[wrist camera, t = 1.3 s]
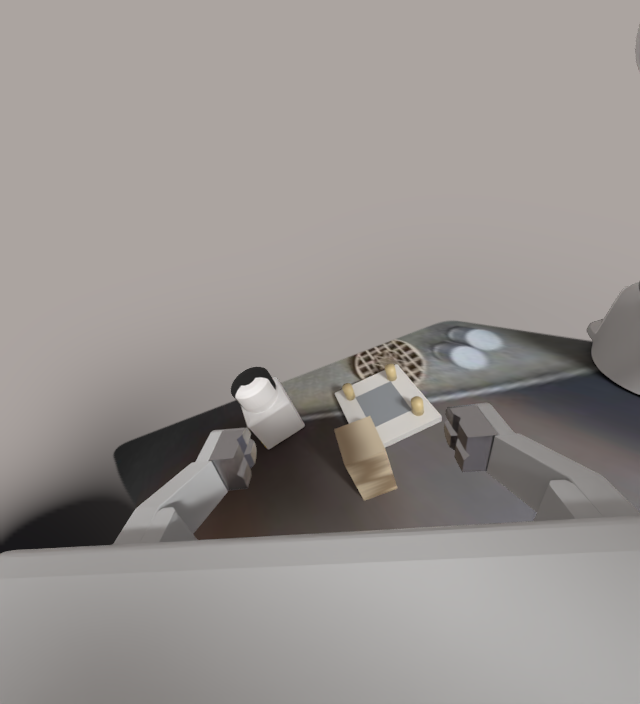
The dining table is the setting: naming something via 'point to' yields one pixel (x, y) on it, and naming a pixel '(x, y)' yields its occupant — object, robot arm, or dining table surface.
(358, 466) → the maple block
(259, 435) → the medicine bottle
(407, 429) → the white pegged board
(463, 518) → the dining table surface
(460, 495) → the dining table surface
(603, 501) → the robot arm
